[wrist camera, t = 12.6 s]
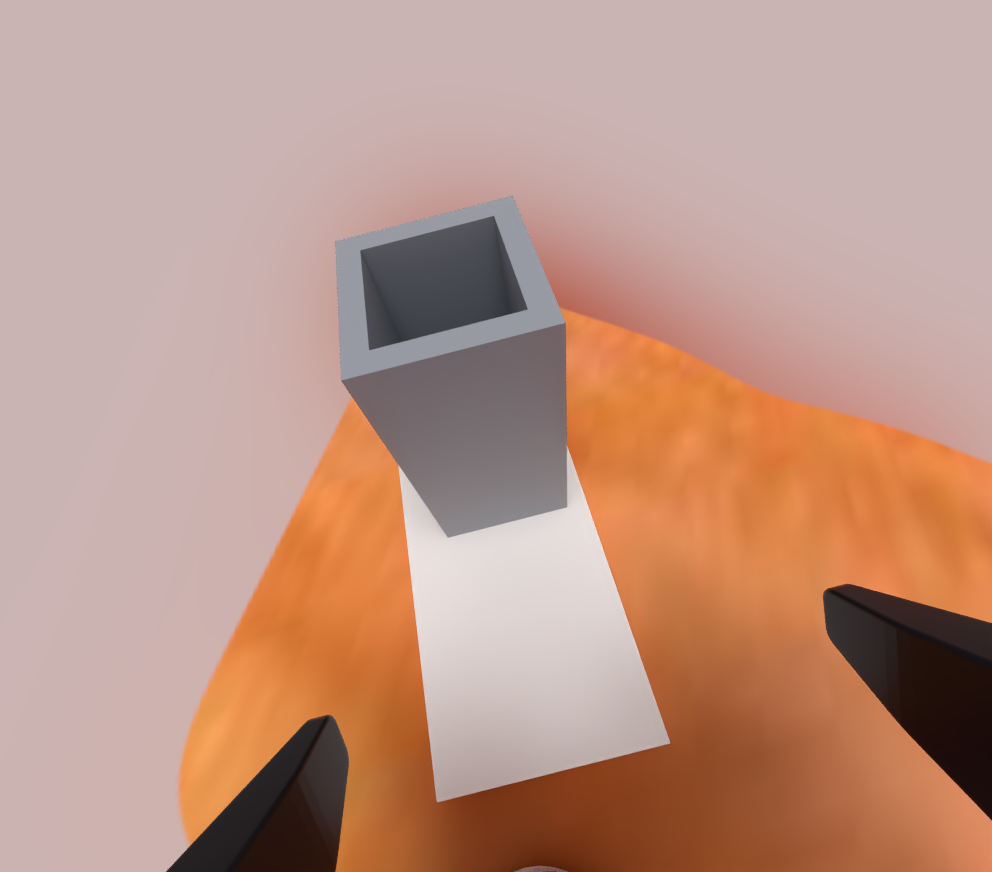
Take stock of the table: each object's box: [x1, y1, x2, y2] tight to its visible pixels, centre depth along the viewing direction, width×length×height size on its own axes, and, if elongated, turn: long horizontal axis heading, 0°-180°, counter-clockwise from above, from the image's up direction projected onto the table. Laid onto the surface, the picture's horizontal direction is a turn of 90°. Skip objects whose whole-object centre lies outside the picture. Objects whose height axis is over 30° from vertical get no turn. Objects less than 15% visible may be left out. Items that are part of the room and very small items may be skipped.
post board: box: [398, 447, 670, 802], centre depth 21 cm, size 18×9×5 cm, turn 13°
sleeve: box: [335, 196, 567, 538], centre depth 19 cm, size 6×6×12 cm
